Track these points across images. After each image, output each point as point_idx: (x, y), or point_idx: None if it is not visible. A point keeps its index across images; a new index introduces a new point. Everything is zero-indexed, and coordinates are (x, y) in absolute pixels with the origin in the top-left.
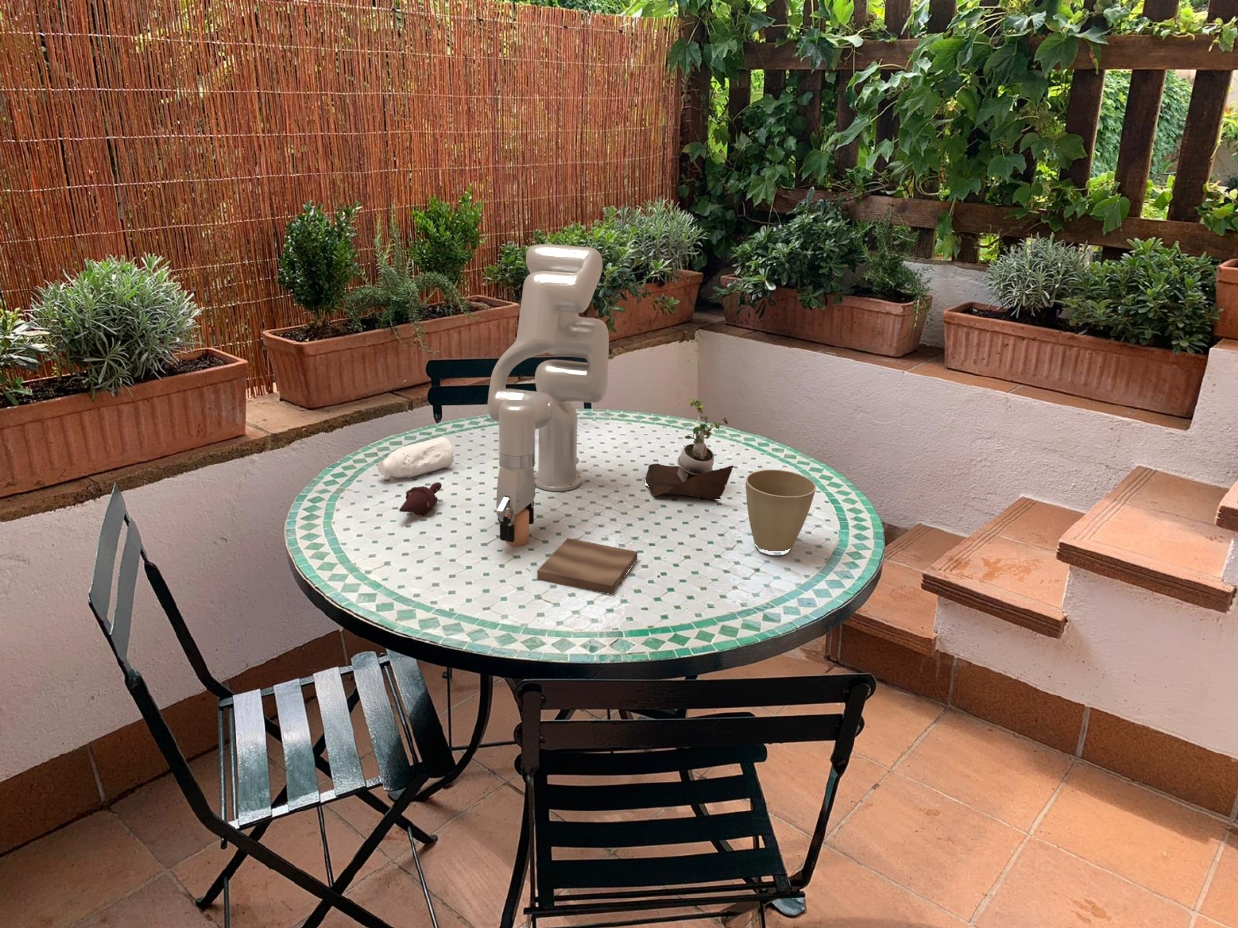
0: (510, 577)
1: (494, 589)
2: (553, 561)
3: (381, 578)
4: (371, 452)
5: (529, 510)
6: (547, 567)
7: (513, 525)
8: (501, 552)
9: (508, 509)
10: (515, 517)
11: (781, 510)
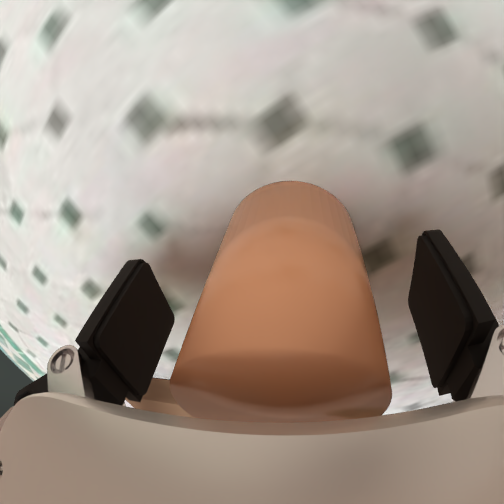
0: (81, 329)
1: (36, 318)
2: (180, 412)
3: None
4: None
5: (435, 369)
6: (149, 406)
7: (129, 399)
8: (145, 240)
9: (283, 354)
10: (192, 412)
11: None
